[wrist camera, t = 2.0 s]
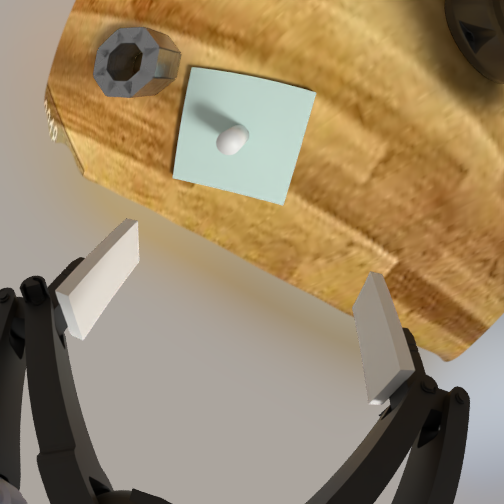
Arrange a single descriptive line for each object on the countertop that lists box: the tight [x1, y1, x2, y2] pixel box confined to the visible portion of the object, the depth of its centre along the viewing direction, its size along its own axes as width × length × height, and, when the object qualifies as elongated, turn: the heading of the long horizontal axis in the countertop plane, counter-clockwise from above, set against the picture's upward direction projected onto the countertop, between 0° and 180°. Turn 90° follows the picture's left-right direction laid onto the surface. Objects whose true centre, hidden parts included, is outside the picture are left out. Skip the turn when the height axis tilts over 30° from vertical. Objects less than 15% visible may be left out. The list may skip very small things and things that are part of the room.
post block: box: [173, 67, 316, 205], centre depth 28 cm, size 14×14×6 cm
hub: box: [93, 27, 181, 98], centre depth 24 cm, size 8×8×6 cm
